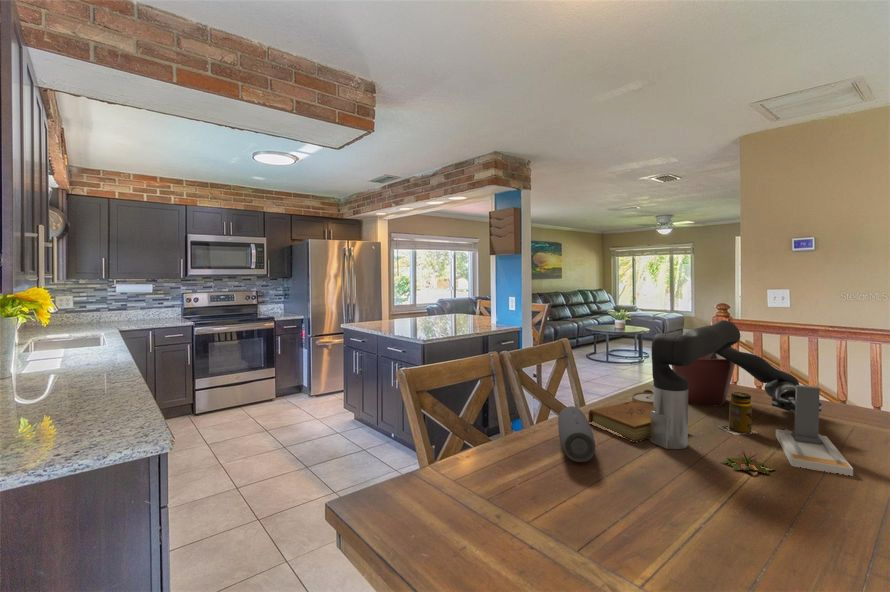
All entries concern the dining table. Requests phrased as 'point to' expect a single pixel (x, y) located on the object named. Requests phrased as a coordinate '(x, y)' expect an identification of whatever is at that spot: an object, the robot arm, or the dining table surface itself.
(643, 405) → the diary
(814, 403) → the switch lever
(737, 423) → the condiment
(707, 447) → the dining table surface
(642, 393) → the alarm clock
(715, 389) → the bucket
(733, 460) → the succulent plant
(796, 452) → the switch board
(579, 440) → the bluetooth speaker
